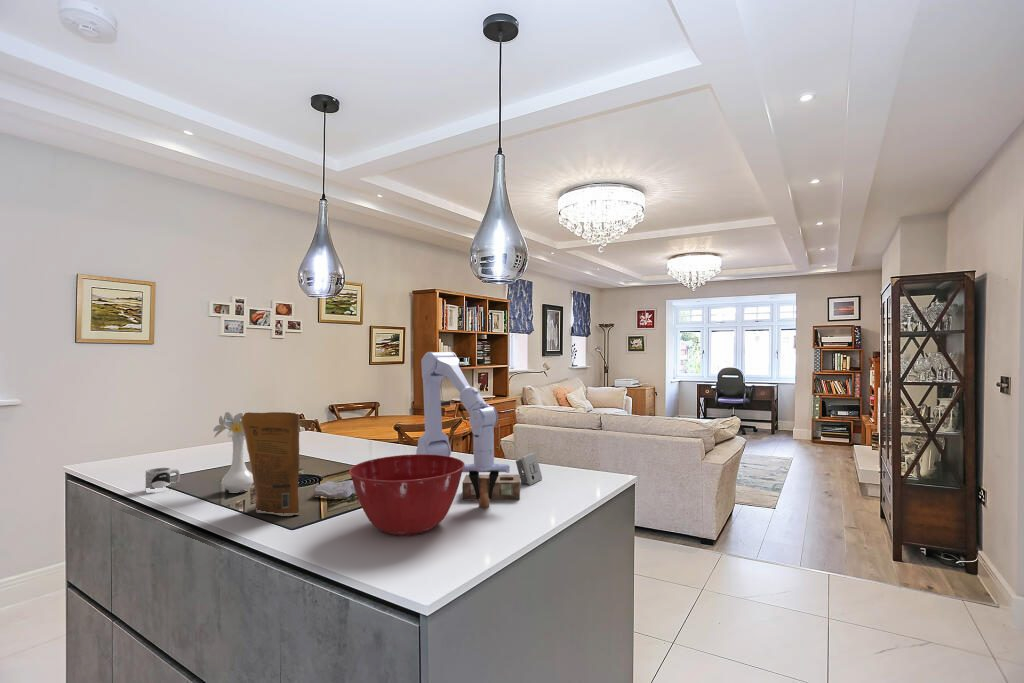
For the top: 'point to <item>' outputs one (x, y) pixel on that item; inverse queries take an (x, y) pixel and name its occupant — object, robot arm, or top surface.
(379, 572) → the top surface
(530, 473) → the electrical switch
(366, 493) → the mixing bowl
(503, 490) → the socket block
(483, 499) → the peg
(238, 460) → the flower vase
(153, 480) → the mug
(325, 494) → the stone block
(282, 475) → the pancake mix bag
